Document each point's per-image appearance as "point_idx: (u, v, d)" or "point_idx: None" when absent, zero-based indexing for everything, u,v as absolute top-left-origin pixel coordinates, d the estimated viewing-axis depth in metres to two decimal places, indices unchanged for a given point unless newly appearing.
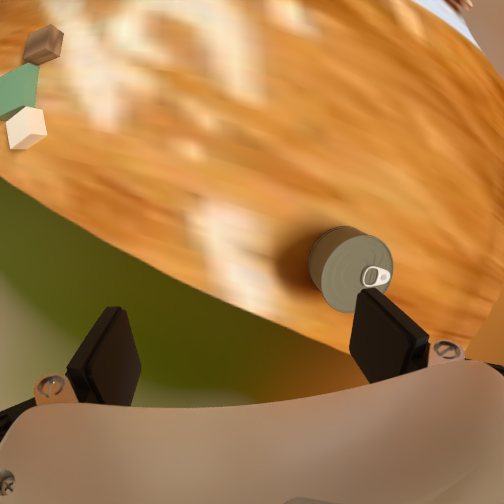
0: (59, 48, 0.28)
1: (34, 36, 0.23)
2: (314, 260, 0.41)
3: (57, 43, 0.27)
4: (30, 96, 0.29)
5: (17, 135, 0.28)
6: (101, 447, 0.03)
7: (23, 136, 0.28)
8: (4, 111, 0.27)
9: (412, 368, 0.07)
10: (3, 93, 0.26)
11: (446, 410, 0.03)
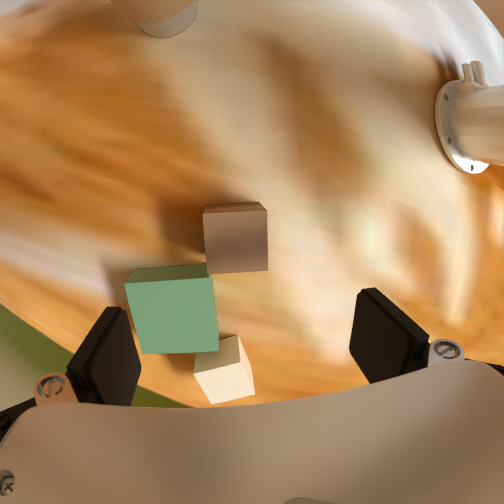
0: None
1: (225, 227, 0.22)
2: None
3: None
4: None
5: (226, 392, 0.27)
6: (101, 447, 0.03)
7: (240, 395, 0.28)
8: (170, 349, 0.26)
9: (412, 368, 0.07)
10: (155, 319, 0.25)
11: (446, 410, 0.03)
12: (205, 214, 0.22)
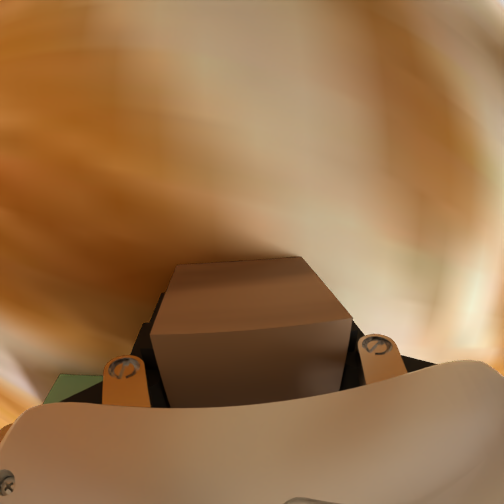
0: None
1: (224, 369, 0.07)
2: None
3: None
4: None
5: None
6: (101, 447, 0.03)
7: None
8: None
9: None
10: None
11: (446, 410, 0.03)
12: (159, 336, 0.06)
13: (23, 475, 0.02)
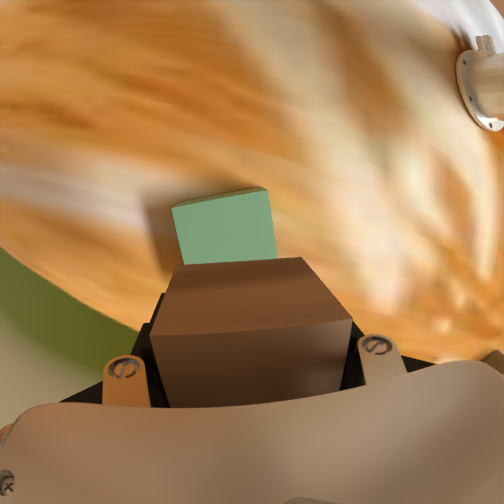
0: None
1: (224, 370, 0.07)
2: None
3: None
4: None
5: None
6: (101, 447, 0.03)
7: None
8: None
9: None
10: (208, 248, 0.24)
11: (446, 410, 0.03)
12: (159, 337, 0.06)
13: (23, 475, 0.02)
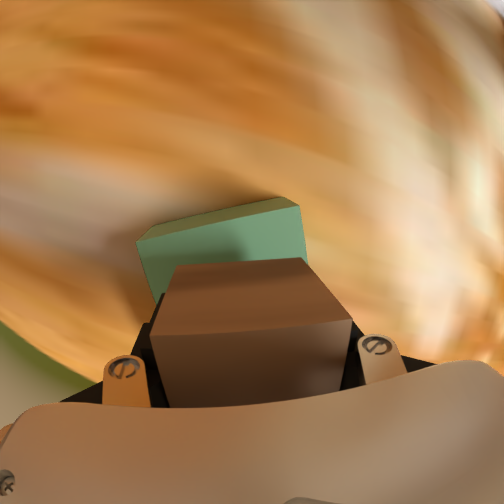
0: None
1: (224, 370, 0.07)
2: None
3: None
4: None
5: None
6: (101, 447, 0.03)
7: None
8: None
9: None
10: None
11: (446, 410, 0.03)
12: (159, 337, 0.06)
13: (23, 475, 0.02)
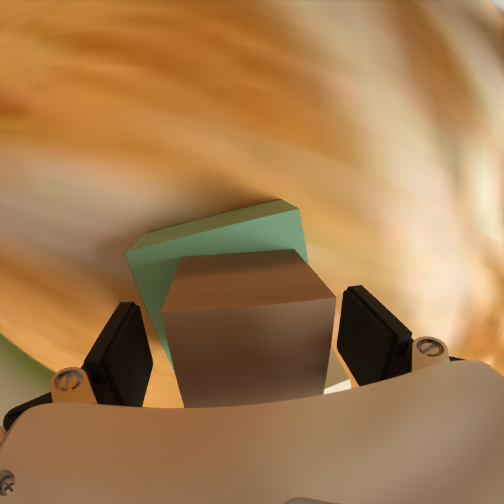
0: None
1: (225, 343, 0.08)
2: None
3: None
4: None
5: None
6: (101, 447, 0.03)
7: None
8: None
9: (395, 365, 0.07)
10: None
11: (446, 410, 0.03)
12: (169, 313, 0.08)
13: (23, 475, 0.02)
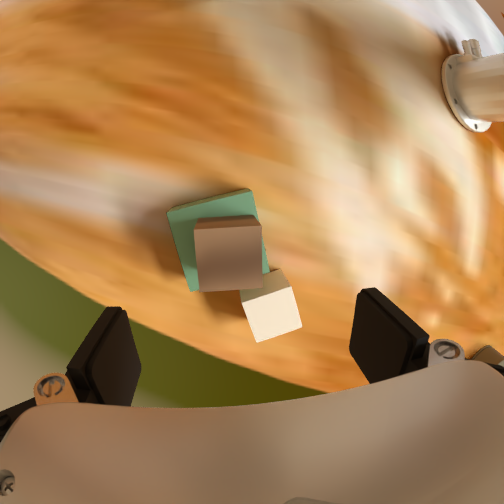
0: None
1: (217, 243, 0.21)
2: None
3: None
4: None
5: (273, 326, 0.28)
6: (101, 447, 0.03)
7: (288, 329, 0.28)
8: None
9: (412, 368, 0.07)
10: None
11: (446, 410, 0.03)
12: (196, 230, 0.21)
13: (23, 475, 0.02)
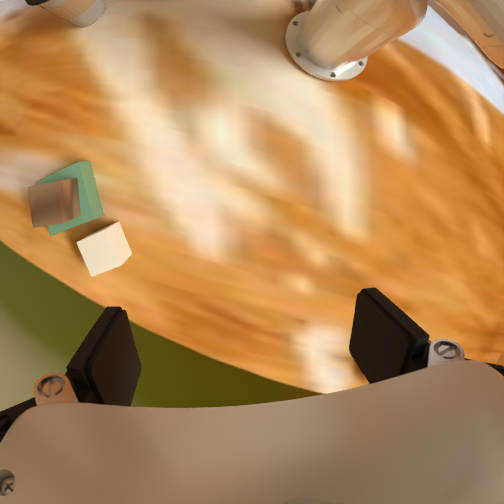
0: (77, 206, 0.31)
1: (38, 194, 0.25)
2: None
3: (73, 200, 0.30)
4: (96, 203, 0.34)
5: (100, 263, 0.33)
6: (101, 447, 0.03)
7: (110, 266, 0.33)
8: (65, 226, 0.32)
9: (412, 368, 0.07)
10: None
11: (446, 410, 0.03)
12: (29, 187, 0.25)
13: (23, 475, 0.02)
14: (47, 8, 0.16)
